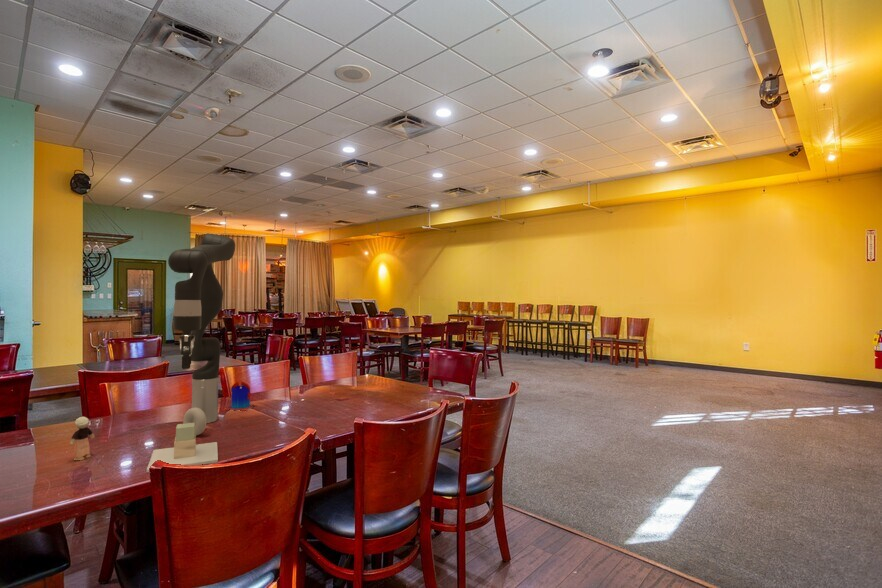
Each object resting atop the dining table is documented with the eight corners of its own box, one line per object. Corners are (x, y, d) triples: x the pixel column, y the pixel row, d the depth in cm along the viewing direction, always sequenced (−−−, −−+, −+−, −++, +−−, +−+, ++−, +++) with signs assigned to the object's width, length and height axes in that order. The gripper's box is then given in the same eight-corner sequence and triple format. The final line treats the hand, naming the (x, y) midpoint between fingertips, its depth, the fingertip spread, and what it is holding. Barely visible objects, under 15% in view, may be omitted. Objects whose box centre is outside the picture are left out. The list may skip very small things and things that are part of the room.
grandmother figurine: (83, 454, 138) (84, 413, 138) (96, 454, 138) (97, 413, 138) (64, 463, 130) (65, 420, 130) (78, 463, 130) (79, 420, 130)
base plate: (153, 452, 140) (153, 449, 140) (217, 444, 149) (217, 441, 149) (146, 472, 124) (146, 469, 124) (217, 462, 133) (217, 459, 133)
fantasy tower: (219, 410, 192) (220, 383, 192) (236, 404, 203) (237, 378, 203) (244, 412, 190) (245, 384, 190) (260, 405, 201) (260, 379, 202)
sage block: (177, 437, 138) (177, 424, 138) (194, 435, 140) (194, 422, 140) (175, 441, 133) (176, 428, 133) (193, 439, 135) (194, 426, 136)
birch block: (175, 453, 138) (175, 437, 138) (195, 450, 140) (195, 434, 140) (173, 459, 133) (174, 442, 133) (194, 456, 135) (195, 439, 135)
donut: (208, 436, 157) (209, 408, 157) (199, 438, 154) (200, 410, 154) (189, 432, 161) (190, 404, 161) (180, 434, 158) (181, 407, 158)
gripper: (200, 315, 132) (199, 369, 132) (201, 313, 145) (200, 362, 145) (171, 315, 129) (170, 371, 129) (175, 313, 141) (174, 364, 141)
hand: (186, 366), depth 137 cm, fingers open, 8 cm apart
